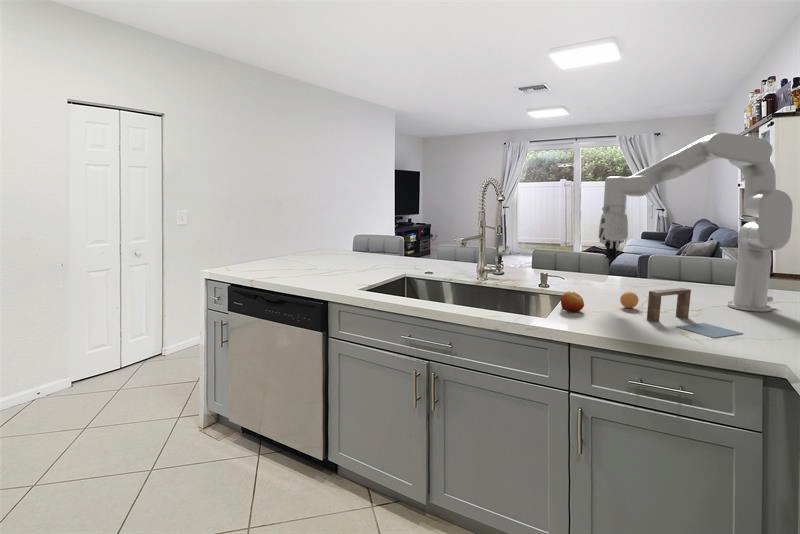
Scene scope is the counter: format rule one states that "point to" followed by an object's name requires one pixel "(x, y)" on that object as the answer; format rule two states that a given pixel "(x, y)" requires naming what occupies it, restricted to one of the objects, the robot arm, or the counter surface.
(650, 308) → the bridge
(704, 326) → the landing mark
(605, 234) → the robot arm
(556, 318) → the counter surface
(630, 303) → the ball
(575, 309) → the fruit
